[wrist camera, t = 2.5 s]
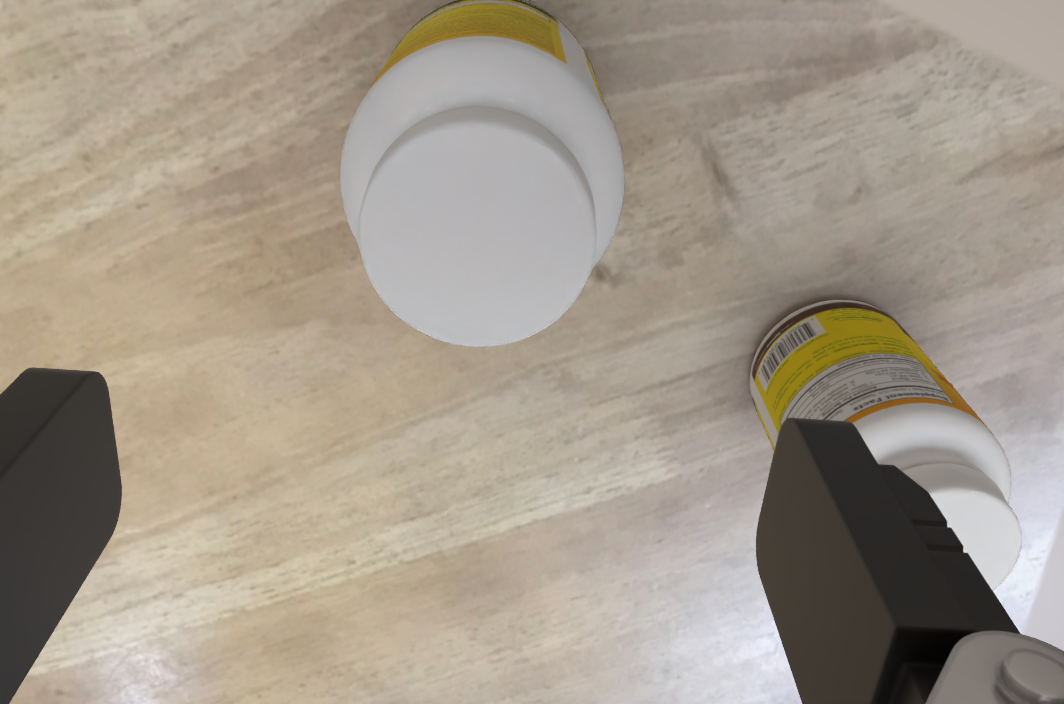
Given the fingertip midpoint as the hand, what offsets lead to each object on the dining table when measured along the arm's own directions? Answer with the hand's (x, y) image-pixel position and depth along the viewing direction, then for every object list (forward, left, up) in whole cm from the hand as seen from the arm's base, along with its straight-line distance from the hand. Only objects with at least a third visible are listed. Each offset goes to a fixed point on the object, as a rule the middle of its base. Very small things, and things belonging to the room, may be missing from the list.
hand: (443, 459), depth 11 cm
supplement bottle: (-12, +8, -20) cm, 24 cm away
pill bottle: (0, 0, -20) cm, 20 cm away
